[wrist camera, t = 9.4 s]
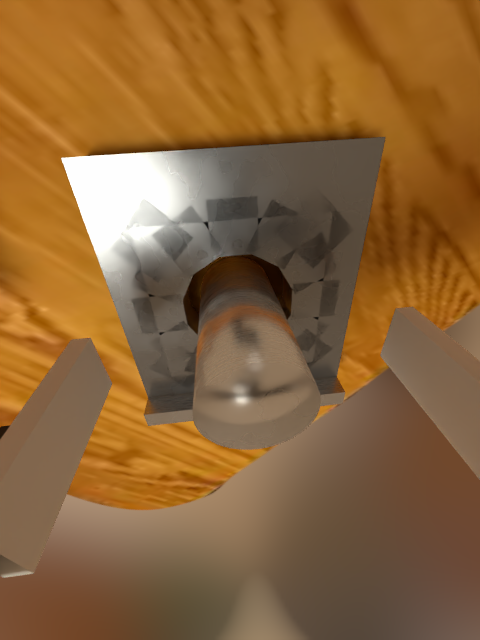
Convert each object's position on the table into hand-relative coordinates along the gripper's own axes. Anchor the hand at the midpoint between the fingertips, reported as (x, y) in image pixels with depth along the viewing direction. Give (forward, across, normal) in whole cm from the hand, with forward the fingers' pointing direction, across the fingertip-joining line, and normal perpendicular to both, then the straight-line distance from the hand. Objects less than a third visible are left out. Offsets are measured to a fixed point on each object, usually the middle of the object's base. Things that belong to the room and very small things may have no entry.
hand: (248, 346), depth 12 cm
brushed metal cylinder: (+7, 0, -1) cm, 7 cm away
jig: (+7, 0, -1) cm, 7 cm away
